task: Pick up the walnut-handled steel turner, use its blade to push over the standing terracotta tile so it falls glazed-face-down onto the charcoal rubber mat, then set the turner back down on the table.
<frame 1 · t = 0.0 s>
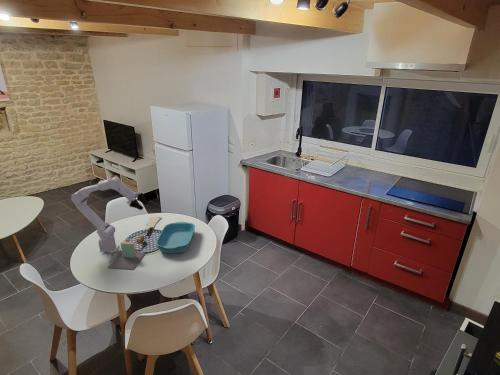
hand: (145, 206, 193), 32 cm above the table, tool tilted 50°, fingers open, 7 cm apart
mat: (127, 260, 195), on the table
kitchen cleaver: (150, 227, 236), on the table
casserole dish: (177, 242, 215), on the table
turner: (141, 243, 214), on the table
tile: (128, 249, 196), point 6 cm above the table, touching mat
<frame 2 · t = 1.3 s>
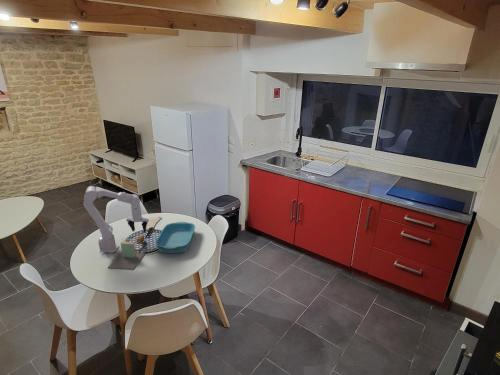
hand: (139, 231, 210), 9 cm above the table, tool pointing down, fingers open, 7 cm apart
nothing on the table moved.
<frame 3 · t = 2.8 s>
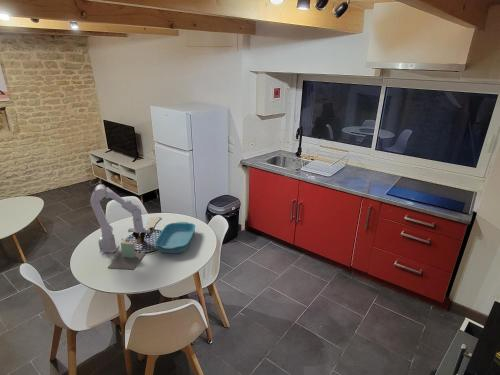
hand: (140, 241, 213), 1 cm above the table, tool pointing down, fingers closed on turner, 3 cm apart
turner: (141, 243, 214), on the table, touching gripper
everything else where it was.
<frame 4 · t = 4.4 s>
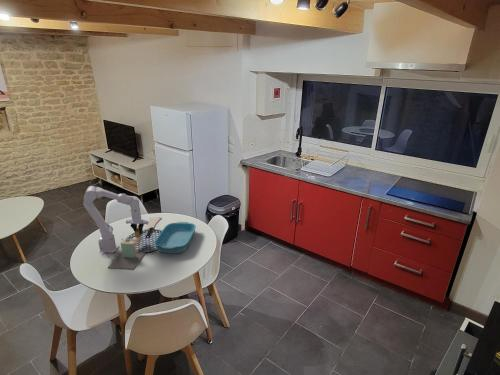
hand: (138, 233, 210), 8 cm above the table, tool pointing down, fingers closed on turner, 3 cm apart
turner: (139, 235, 211), point 6 cm above the table, tilted 7°, touching gripper
everything else where it was.
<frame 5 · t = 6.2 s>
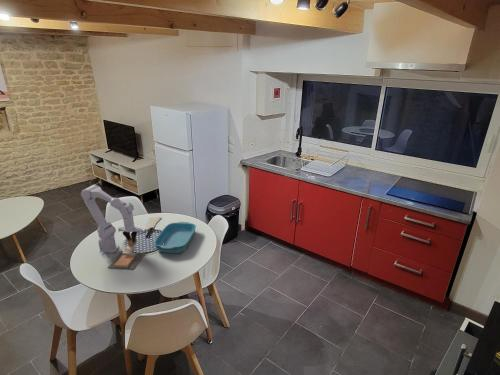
hand: (131, 241, 200), 8 cm above the table, tool pointing down, fingers closed on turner, 3 cm apart
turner: (133, 244, 202), point 6 cm above the table, tilted 10°, touching gripper
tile: (124, 261, 192), point 1 cm above the table, tilted 90°, touching mat
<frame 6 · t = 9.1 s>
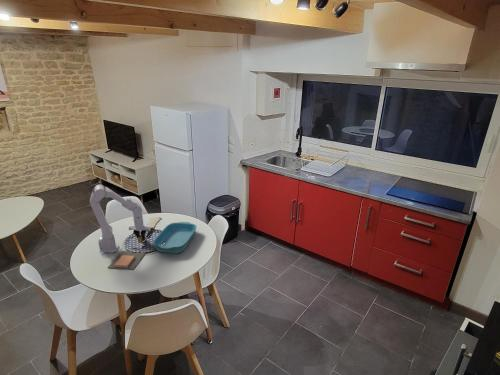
hand: (141, 239, 214), 2 cm above the table, tool pointing down, fingers closed on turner, 2 cm apart
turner: (142, 241, 215), on the table, touching gripper
when the fingers open (2 cm above the table, at t = 9.2 s): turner stays where it is, on the table.
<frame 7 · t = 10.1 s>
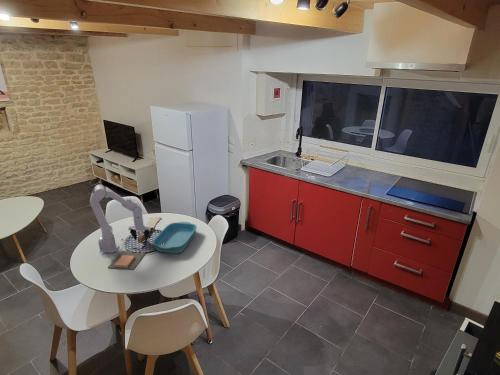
hand: (141, 239, 214), 2 cm above the table, tool pointing down, fingers open, 7 cm apart
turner: (142, 242, 215), on the table
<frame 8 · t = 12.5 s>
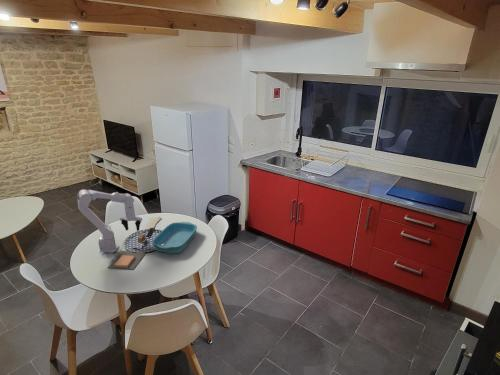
hand: (132, 230, 212), 9 cm above the table, tool pointing down, fingers open, 7 cm apart
at the end: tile tilted 90°; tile inside the target area (0.3 cm from its centre), point 1.4 cm above the table; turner on the table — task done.
